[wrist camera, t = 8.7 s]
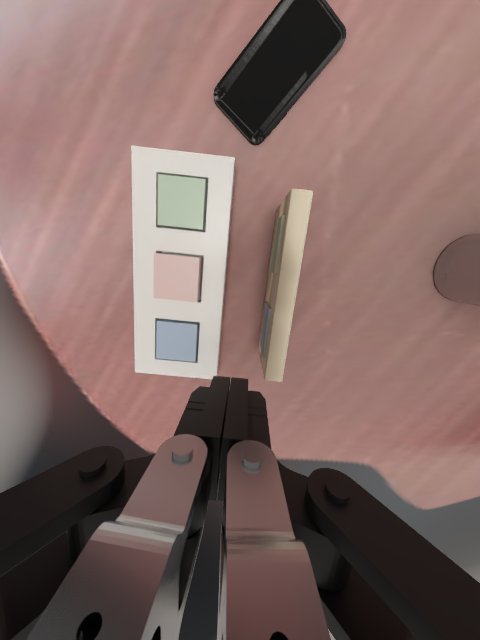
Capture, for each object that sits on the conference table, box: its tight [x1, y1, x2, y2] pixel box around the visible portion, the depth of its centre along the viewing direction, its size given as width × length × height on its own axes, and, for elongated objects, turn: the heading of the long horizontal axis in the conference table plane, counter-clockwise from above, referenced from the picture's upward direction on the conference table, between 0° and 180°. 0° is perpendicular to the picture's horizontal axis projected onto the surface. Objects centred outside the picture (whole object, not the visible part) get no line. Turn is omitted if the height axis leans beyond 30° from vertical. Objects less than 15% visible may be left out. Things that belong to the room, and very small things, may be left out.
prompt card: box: [259, 189, 313, 382], centre depth 29 cm, size 2×20×10 cm, turn 174°
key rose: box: [154, 253, 203, 302], centre depth 31 cm, size 6×6×3 cm
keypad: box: [131, 146, 235, 379], centre depth 32 cm, size 12×29×3 cm, turn 174°
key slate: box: [156, 319, 200, 362], centre depth 34 cm, size 6×6×3 cm
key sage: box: [157, 174, 208, 232], centre depth 30 cm, size 6×6×3 cm
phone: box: [214, 0, 346, 145], centre depth 27 cm, size 8×1×15 cm
